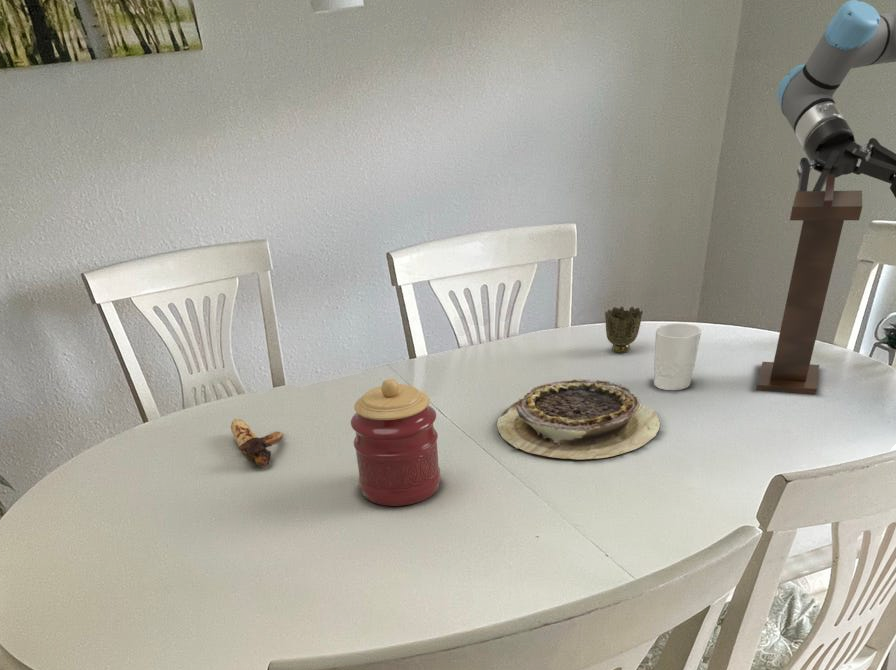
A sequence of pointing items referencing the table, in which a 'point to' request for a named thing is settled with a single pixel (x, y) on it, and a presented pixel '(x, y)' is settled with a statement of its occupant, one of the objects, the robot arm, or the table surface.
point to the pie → (578, 420)
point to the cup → (622, 327)
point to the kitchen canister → (396, 445)
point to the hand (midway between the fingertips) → (871, 217)
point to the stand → (808, 289)
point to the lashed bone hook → (254, 442)
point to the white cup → (675, 355)
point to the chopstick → (829, 191)
